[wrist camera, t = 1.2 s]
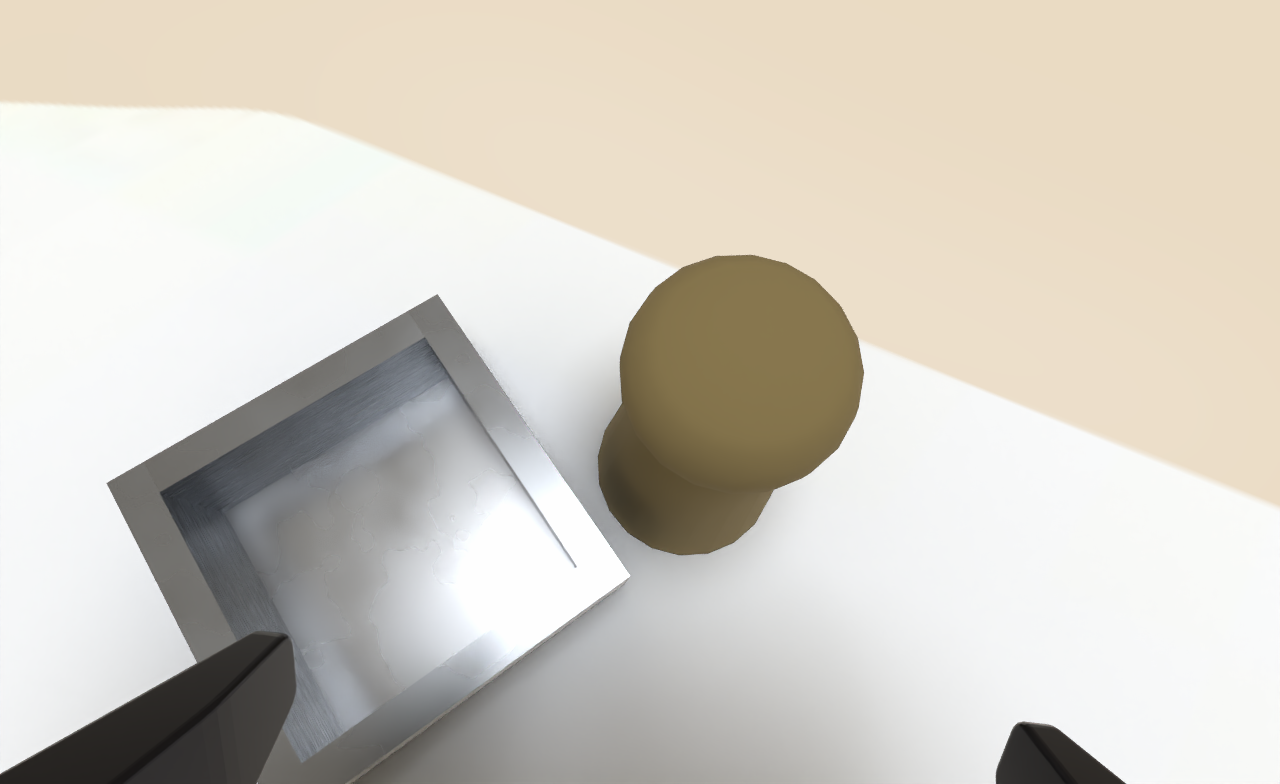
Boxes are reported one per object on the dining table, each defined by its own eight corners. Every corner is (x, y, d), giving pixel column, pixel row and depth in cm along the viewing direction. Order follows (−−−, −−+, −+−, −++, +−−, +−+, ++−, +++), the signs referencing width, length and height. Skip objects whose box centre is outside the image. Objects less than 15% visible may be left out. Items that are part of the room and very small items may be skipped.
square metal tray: (623, 584, 23) (630, 576, 19) (341, 791, 20) (281, 830, 16) (461, 346, 25) (437, 294, 21) (190, 507, 23) (106, 483, 19)
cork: (567, 511, 23) (547, 418, 13) (639, 356, 25) (671, 166, 15) (737, 585, 23) (857, 551, 12) (796, 422, 25) (943, 274, 14)
